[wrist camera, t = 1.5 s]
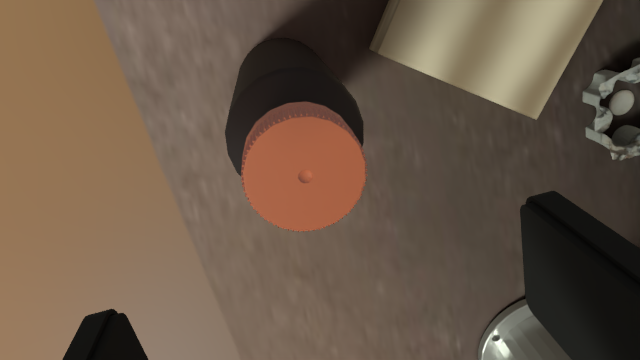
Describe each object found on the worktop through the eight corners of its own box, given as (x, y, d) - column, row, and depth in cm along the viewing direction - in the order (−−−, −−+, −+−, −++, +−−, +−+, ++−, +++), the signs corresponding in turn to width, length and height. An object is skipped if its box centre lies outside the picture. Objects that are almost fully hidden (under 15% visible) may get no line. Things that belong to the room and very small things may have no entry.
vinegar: (277, 17, 35) (297, 47, 16) (343, 78, 37) (426, 165, 18) (219, 87, 36) (178, 188, 18) (286, 141, 38) (312, 281, 20)
